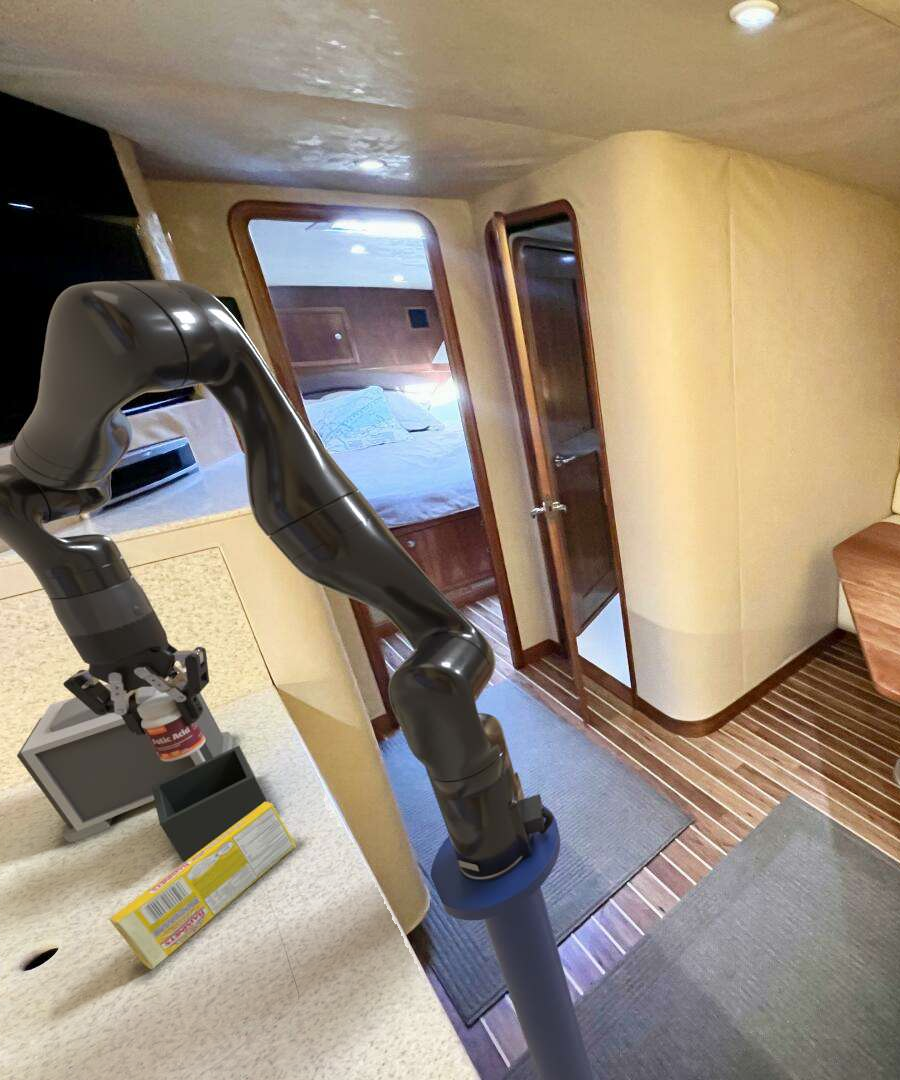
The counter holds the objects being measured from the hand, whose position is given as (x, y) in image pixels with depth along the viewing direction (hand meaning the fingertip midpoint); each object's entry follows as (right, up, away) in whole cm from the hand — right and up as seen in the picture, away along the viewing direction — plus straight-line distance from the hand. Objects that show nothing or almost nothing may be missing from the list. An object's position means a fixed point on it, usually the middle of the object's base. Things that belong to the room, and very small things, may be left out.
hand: (170, 724), depth 73 cm
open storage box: (+1, -17, +7) cm, 18 cm away
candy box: (+12, -21, -5) cm, 25 cm away
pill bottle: (0, -4, +2) cm, 5 cm away
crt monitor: (-17, -15, +14) cm, 27 cm away
